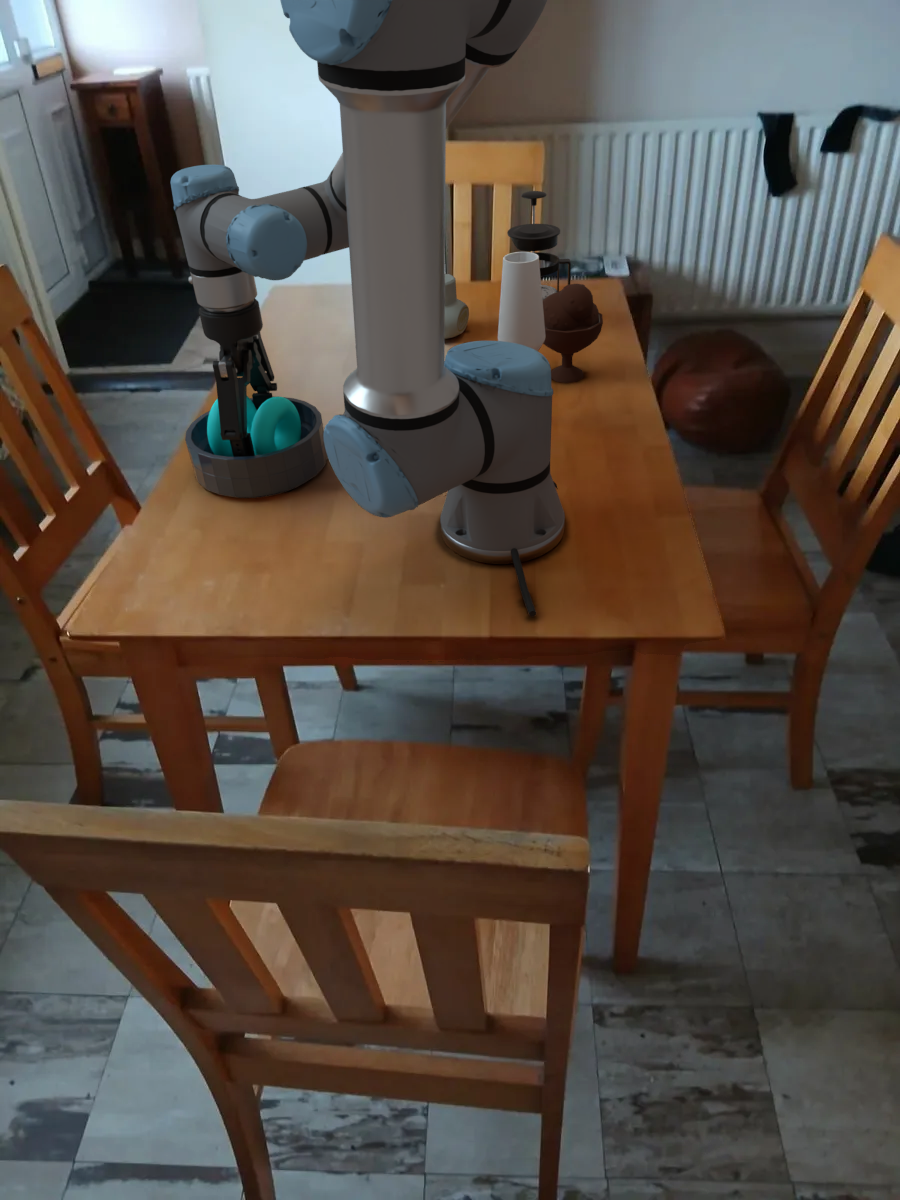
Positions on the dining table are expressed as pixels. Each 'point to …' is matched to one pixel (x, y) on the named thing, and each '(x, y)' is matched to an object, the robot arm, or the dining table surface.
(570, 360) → the ice cream bowl
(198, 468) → the bowl
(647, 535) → the dining table surface
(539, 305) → the white tapered vase
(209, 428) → the donuts
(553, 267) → the french press
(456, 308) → the air freshener
